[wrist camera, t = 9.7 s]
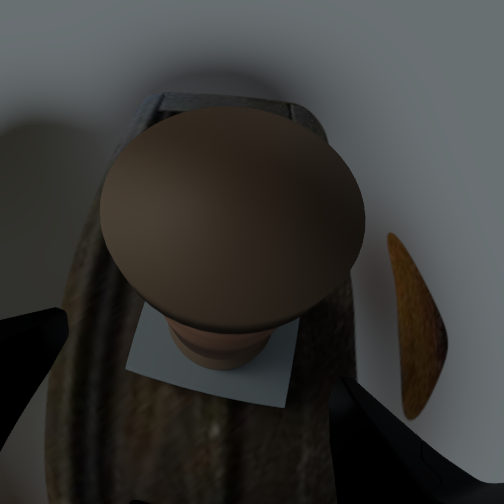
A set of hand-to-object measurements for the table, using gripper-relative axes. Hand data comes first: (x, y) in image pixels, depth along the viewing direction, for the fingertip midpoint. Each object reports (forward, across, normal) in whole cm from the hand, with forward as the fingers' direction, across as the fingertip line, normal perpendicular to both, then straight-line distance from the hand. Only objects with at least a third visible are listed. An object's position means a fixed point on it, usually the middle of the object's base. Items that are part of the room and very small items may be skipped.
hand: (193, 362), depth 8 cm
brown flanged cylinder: (+8, 0, +3) cm, 9 cm away
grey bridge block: (+11, 0, +6) cm, 13 cm away
